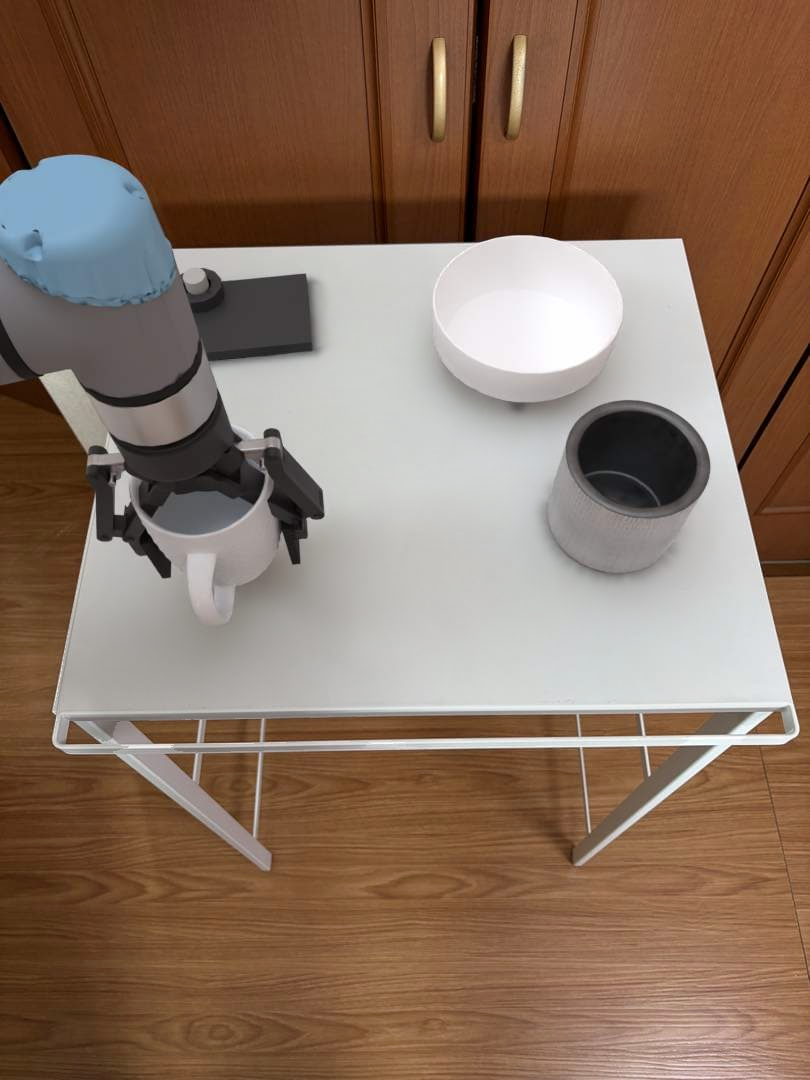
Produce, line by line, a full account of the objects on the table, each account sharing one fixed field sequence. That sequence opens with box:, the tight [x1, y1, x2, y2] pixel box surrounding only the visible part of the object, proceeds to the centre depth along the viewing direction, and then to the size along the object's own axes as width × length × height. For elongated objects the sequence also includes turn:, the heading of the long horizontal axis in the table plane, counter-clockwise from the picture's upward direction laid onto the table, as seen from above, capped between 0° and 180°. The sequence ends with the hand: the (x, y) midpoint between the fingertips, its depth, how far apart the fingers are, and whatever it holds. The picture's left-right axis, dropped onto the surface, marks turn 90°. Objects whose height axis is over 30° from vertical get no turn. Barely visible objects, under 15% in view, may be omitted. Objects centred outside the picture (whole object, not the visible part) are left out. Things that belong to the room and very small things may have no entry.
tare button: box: [183, 267, 209, 295], centre depth 86 cm, size 3×3×2 cm
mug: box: [128, 422, 283, 627], centre depth 62 cm, size 15×11×13 cm
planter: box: [546, 399, 711, 574], centre depth 69 cm, size 12×13×11 cm
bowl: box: [431, 235, 625, 403], centre depth 80 cm, size 20×20×8 cm
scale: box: [180, 267, 314, 362], centre depth 86 cm, size 15×12×3 cm
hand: (231, 558), depth 67 cm, fingers closed on mug, 11 cm apart
